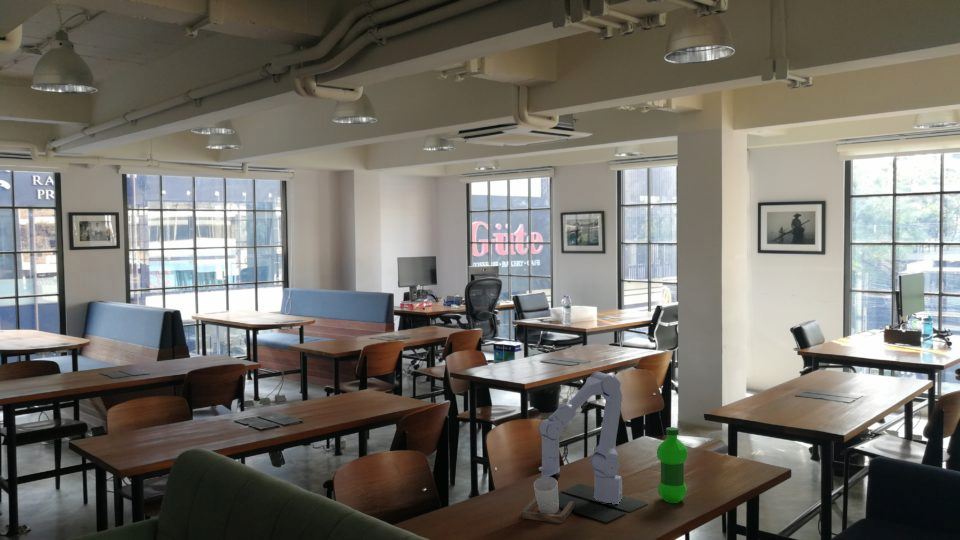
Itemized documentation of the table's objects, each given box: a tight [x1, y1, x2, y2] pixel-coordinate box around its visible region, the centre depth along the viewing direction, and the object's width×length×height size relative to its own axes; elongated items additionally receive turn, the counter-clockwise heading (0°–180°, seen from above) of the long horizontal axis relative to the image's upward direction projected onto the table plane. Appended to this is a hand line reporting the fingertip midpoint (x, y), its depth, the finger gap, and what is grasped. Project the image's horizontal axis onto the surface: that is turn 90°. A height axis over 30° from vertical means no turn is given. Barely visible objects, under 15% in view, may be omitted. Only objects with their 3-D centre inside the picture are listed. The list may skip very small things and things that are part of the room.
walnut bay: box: [521, 496, 576, 524], centre depth 257 cm, size 14×16×2 cm
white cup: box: [533, 477, 560, 514], centre depth 256 cm, size 8×8×10 cm
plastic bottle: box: [656, 426, 689, 504], centre depth 266 cm, size 10×10×25 cm
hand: (550, 495), depth 260 cm, fingers closed, pressing on white cup
